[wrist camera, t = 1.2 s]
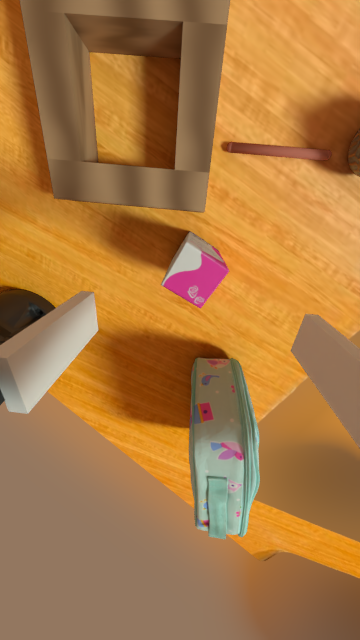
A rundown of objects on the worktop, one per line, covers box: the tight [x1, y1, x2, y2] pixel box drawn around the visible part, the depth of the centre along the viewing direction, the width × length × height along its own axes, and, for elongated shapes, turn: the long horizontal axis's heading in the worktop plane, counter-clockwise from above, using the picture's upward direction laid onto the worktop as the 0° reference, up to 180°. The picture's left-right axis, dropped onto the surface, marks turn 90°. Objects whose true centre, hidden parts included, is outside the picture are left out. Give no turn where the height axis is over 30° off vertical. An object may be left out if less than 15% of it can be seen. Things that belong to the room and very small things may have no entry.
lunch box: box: [189, 357, 260, 539], centre depth 37 cm, size 27×10×21 cm, turn 5°
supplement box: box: [161, 231, 229, 308], centre depth 28 cm, size 6×6×12 cm
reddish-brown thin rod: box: [227, 142, 332, 160], centre depth 26 cm, size 13×1×1 cm, turn 85°
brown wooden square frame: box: [20, 0, 230, 212], centre depth 23 cm, size 19×19×5 cm
